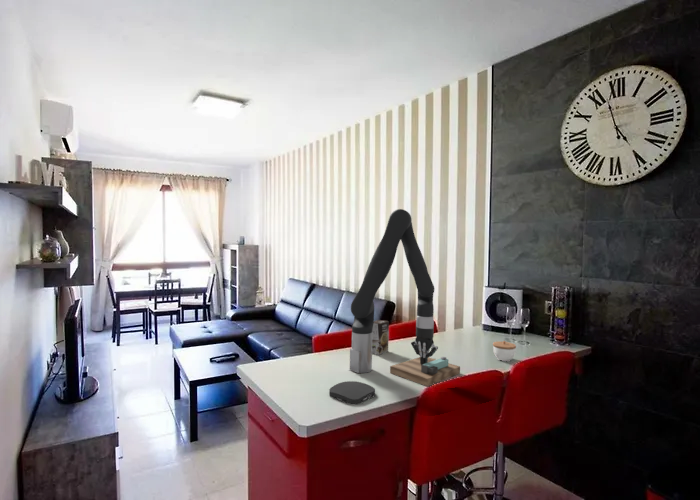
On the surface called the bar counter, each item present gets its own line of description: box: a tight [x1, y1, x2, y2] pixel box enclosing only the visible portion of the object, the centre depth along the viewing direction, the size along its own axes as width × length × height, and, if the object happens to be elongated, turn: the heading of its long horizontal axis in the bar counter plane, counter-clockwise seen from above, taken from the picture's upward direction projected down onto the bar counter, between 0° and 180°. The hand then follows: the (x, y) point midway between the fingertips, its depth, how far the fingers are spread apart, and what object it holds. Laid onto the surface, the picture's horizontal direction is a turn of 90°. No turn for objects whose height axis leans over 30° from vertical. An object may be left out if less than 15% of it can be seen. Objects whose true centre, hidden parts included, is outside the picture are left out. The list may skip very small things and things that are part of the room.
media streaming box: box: [328, 380, 376, 405], centre depth 146 cm, size 15×15×3 cm
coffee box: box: [372, 319, 390, 356], centre depth 202 cm, size 9×6×16 cm
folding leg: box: [421, 356, 449, 374], centre depth 168 cm, size 16×3×4 cm, turn 132°
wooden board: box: [389, 356, 461, 387], centre depth 171 cm, size 24×20×6 cm
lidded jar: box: [492, 340, 517, 362], centre depth 193 cm, size 11×11×9 cm
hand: (423, 365), depth 168 cm, fingers closed
